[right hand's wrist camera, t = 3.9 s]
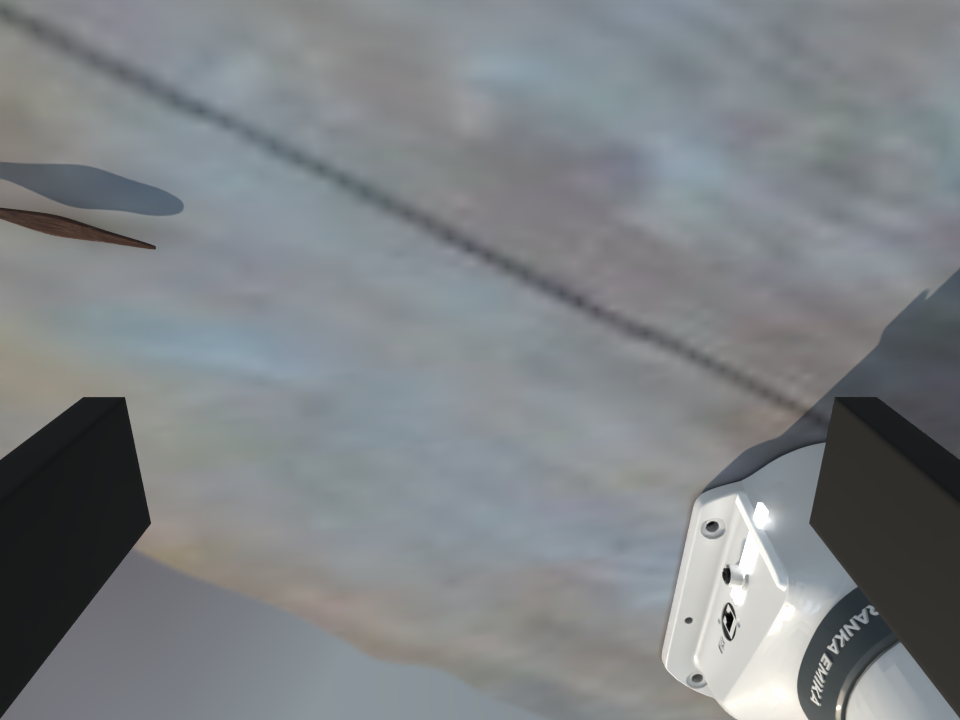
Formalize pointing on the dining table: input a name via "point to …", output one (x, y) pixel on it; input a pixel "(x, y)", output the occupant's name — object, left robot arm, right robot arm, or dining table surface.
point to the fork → (67, 228)
